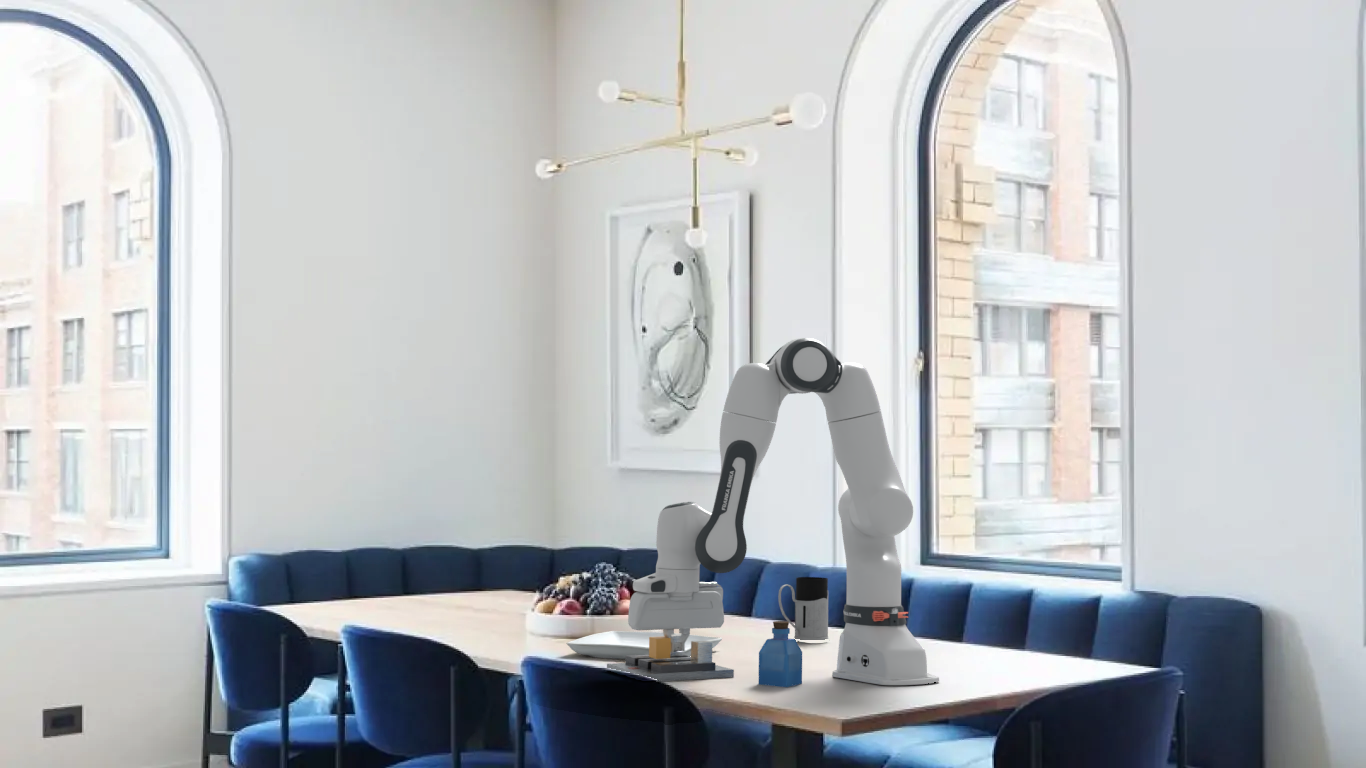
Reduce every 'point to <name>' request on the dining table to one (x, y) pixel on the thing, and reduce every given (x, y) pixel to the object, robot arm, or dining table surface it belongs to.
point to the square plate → (626, 644)
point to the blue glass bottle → (780, 659)
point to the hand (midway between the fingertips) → (676, 651)
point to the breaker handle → (659, 647)
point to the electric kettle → (809, 608)
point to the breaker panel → (675, 675)
